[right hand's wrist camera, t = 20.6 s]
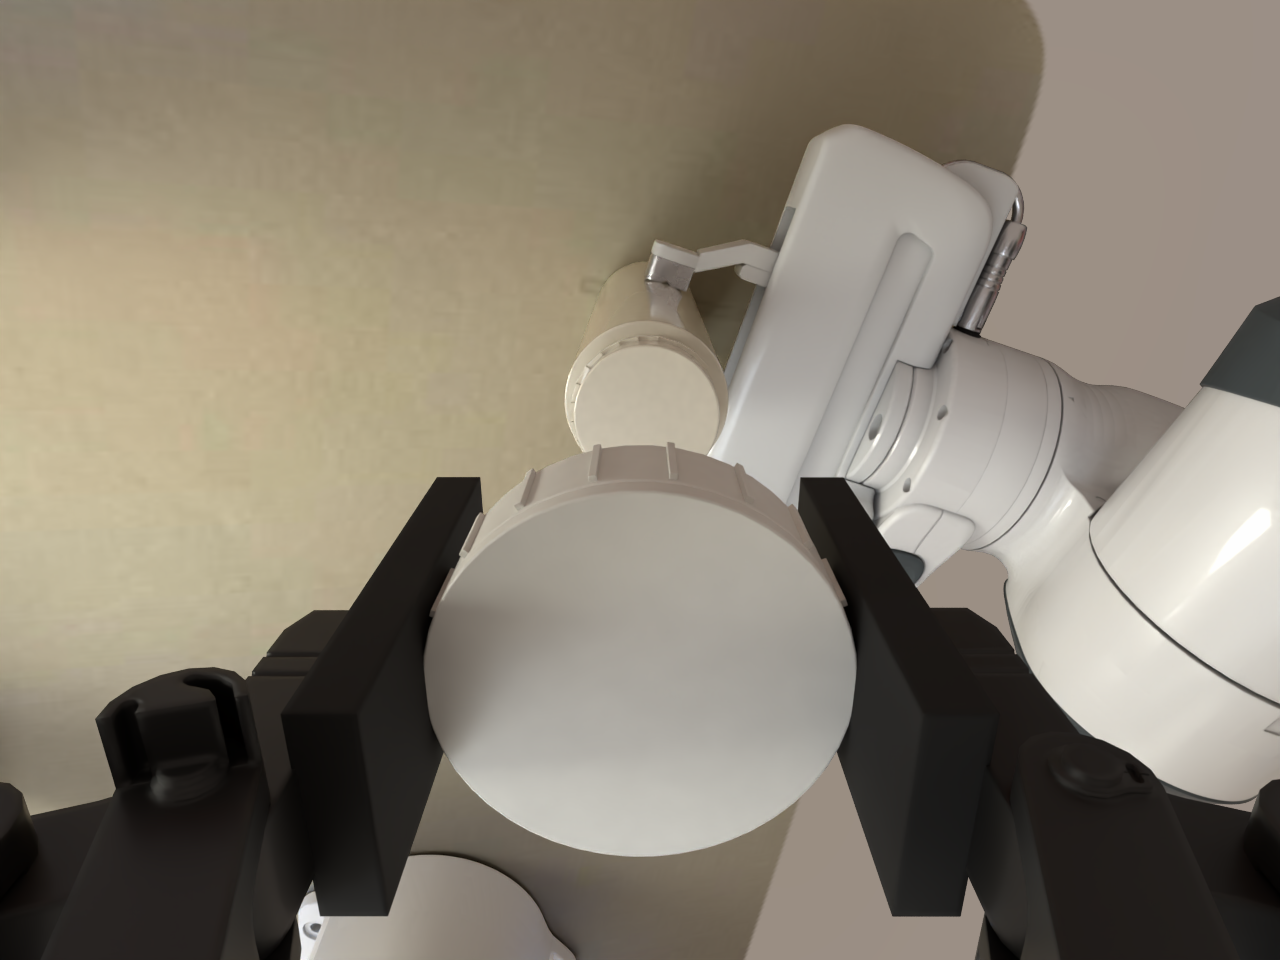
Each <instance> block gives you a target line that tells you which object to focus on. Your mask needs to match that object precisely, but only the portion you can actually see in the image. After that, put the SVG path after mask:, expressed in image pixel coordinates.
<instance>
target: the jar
mask: <svg viewBox="0 0 1280 960" xmlns="http://www.w3.org/2000/svg"><path fill="white" fill-rule="evenodd" d="M647 263H648V261H641V262H635V263H631V264H628V265H626V266H624V267H622V268H620V269H618V270H617V271H615V272H614V273H613V274H612V275H611V276H610V277H609V278H608V279H607V280H606V282H605V283H604V285H603V286H602V288H601V290H600V292H599V295H598V298H597V300H596V303H595V306H594V308H593V311H592V314H591V316H590V319H589V322H588V324H587V327H586V330H585V333H584V335H583V338H582V341H581V343H580V346H579V349H578V351H577V354H576V357H575V359H574V362H573V365H572V367H571V370H570V373H569V376H568V379H567V383H566V388H565V399H564V403H565V413H566V417H567V422H568V425H569V427H570V430H571V432H572V434H573V436H574V438H575V440H576V442H577V444H578V445H579V447H580V448H581V450H582V452H583V453H585V452H589V451H592V450H593V445H597V444H601V447H602V448H609V447H617V446H624V445H654V446H663V447H666V445H667V442H672V443H675V448H679V449H683V450H687V451H691V452H696V453H700V454H704V455H707V454H708V453H709V451H710V450H711V448H712V447H713V446H714V445H715V443H716V442H717V440H718V438H719V436H720V435H721V432H722V430H723V427H724V425H725V421H726V418H727V413H728V405H729V396H728V387H727V382H726V379H725V375H724V372H723V370H722V367H721V365H720V362H719V360H718V357H717V355H716V352H715V350H714V347H713V345H712V342H711V340H710V337H709V335H708V332H707V330H706V327H705V325H704V322H703V320H702V317H701V315H700V312H699V310H698V307H697V305H696V302H695V300H694V297H693V295H692V293H691V290H690V288H689V286H688V289H687V291H686V292H684V291H681V290H678V289H675V288H673V287H671V286H670V285H669V284H668V283H667V281H666V282H662V283H659V282H654V281H652V280H649V279H647V278H645V277H644V273H645V270H646V267H647Z"/></svg>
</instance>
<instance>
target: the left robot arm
mask: <svg viewBox="0 0 1280 960" xmlns="http://www.w3.org/2000/svg"><path fill="white" fill-rule="evenodd" d="M1011 207H1012V217H1011V220H1006V218H1007V216H1008V214H1009V212H1010V210H1011ZM1023 212H1024V201H1023V197H1022V193H1021V191H1020V189H1019V186H1018V185H1017V183H1016V182H1015V181H1014V180H1013V179H1012V178H1011V177H1010V176H1008V175H1007V174H1005V173H1004V172H1001V171H999V170H996V169H993V168H991V167H988V166H985V165H983V164H980V163H977V162H974V161H971V160H954V161H949V162H947V163H944V164H942V165H940V164H939V163H937V162H935V161H933V160H932V159H930V158H928V157H927V156H925V155H923V154H921V153H919V152H917V151H915V150H914V149H912V148H910V147H908V146H906V145H904V144H902V143H900V142H898V141H896V140H894V139H891V138H889V137H887V136H885V135H882V134H880V133H878V132H876V131H873V130H871V129H868V128H865V127H863V126H860V125H855V124H842V125H839V126H836V127H833V128H831V129H829V130H827V131H825V132H823V133H821V134H819V135H817V136H816V137H814V138H813V139H812V140H811V141H810V142H809V144H808V146H807V148H806V151H805V154H804V156H803V159H802V162H801V164H800V167H799V170H798V172H797V175H796V178H795V180H794V183H793V186H792V189H791V191H790V194H789V197H788V199H787V202H786V205H785V207H784V210H783V213H782V216H781V218H780V221H779V224H778V226H777V229H776V232H775V234H774V237H773V240H772V243H771V245H770V248H769V247H766V246H763V245H760V244H757V243H754V242H751V241H748V240H745V239H742V240H737V241H733V242H728V243H724V244H719V245H715V246H710V247H706V248H701V249H697V252H694V251H691V250H688V249H685V248H682V247H680V246H677V245H674V244H671V243H668V242H665V241H661V240H657V239H655V241H654V244H653V247H652V250H651V253H650V257H649V260H648V263H647V267H646V270H645V273H644V277H645V278H647V279H649V280H652V281H654V282H659V283H662V282H666V281H667V283H668V284H669V285H670V286H671V287H673V288H675V289H678V290H681V291H684V292H686V291H687V289H688V286H689V283H690V280H691V278H692V275H693V272H694V273H697V272H702V271H706V270H711V269H716V268H721V267H726V266H731V265H735V268H734V271H735V273H736V274H737V275H738V276H739V277H740V278H741V279H743V280H746V281H748V282H751V283H754V284H756V286H755V288H754V291H753V294H752V297H751V299H750V302H749V305H748V307H747V310H746V313H745V315H744V318H743V321H742V323H741V326H740V329H739V332H738V334H737V337H736V340H735V342H734V345H733V348H732V350H731V353H730V356H729V359H728V361H727V364H726V367H725V369H724V375H725V379H726V382H727V387H728V396H729V405H728V413H727V418H726V421H725V425H724V427H723V430H722V432H721V435H720V436H719V438H718V440H717V442H716V443H715V445H714V446H713V447H712V448H711V450H710V451H709V453H708V454H707V456H709V457H712V458H714V459H717V460H719V461H722V462H725V463H727V464H730V465H731V466H733V467H734V466H735V465H736V463H739V464H741V465H742V466H743V467H744V470H745V473H746V474H748V475H750V476H752V477H753V478H754V479H756V480H757V481H758V482H760V483H761V484H763V485H764V486H765V487H767V488H768V489H769V490H771V491H772V492H773V493H774V494H775V495H776V496H777V497H778V498H779V499H780V500H781V501H782V502H783V503H784V504H786V505H787V506H790V505H791V504H793V505H794V506H795V507H796V508H797V510H798V501H799V488H800V477H844V479H845V480H846V482H847V483H848V485H849V486H850V488H851V489H852V491H853V492H854V494H855V495H856V497H857V498H858V500H859V502H860V503H861V505H862V506H863V508H864V509H865V511H866V512H867V514H868V515H869V517H870V518H871V520H872V521H873V523H874V524H875V526H876V527H877V529H878V530H879V532H880V533H881V535H882V536H883V538H884V539H885V541H886V542H887V544H888V545H889V547H890V548H891V550H892V551H893V553H894V554H895V556H896V557H897V559H898V560H899V562H900V563H901V565H902V566H903V568H904V569H905V571H906V572H907V574H908V575H909V577H910V579H911V580H912V582H913V583H914V585H915V586H916V588H917V587H918V586H919V585H920V584H921V583H922V582H923V581H925V580H926V579H927V578H928V577H929V576H930V575H931V574H932V573H933V572H934V571H935V570H936V569H937V568H938V567H940V566H941V565H942V564H943V563H944V562H945V561H946V560H948V559H949V558H950V557H951V556H952V555H954V554H955V553H956V552H957V551H958V550H960V549H962V550H968V551H977V552H984V553H988V554H990V555H993V556H994V557H996V558H997V559H998V560H1000V561H1001V562H1002V564H1003V565H1004V566H1005V567H1006V569H1007V572H1008V579H1007V580H1006V581H1005V583H1004V598H1005V604H1006V610H1007V616H1008V620H1009V625H1010V629H1011V633H1012V637H1013V641H1014V645H1015V649H1016V653H1017V654H1018V655H1019V656H1020V658H1021V659H1022V660H1023V662H1024V663H1025V664H1026V665H1027V667H1028V668H1029V673H1030V674H1034V676H1035V677H1036V678H1037V680H1038V681H1039V682H1040V683H1041V685H1042V686H1043V687H1044V689H1045V690H1046V691H1047V692H1048V694H1049V695H1050V696H1051V697H1052V699H1053V700H1054V701H1055V703H1056V704H1057V705H1058V706H1059V708H1060V709H1061V710H1062V712H1063V713H1064V714H1065V715H1066V717H1067V718H1068V719H1069V721H1070V722H1071V723H1072V724H1073V726H1074V727H1075V728H1076V730H1077V731H1078V732H1079V733H1080V734H1082V735H1086V736H1090V737H1093V738H1097V739H1101V740H1104V741H1106V742H1108V743H1110V744H1112V745H1114V746H1116V747H1118V748H1120V749H1122V750H1125V751H1127V752H1129V753H1130V754H1132V755H1133V756H1134V757H1135V758H1137V759H1138V760H1139V761H1141V762H1142V763H1143V764H1145V765H1146V766H1147V767H1148V768H1150V769H1151V770H1152V772H1153V773H1154V774H1155V776H1156V777H1157V778H1158V780H1159V781H1160V783H1161V784H1162V785H1163V787H1164V788H1165V791H1166V793H1169V794H1172V795H1176V796H1179V797H1183V798H1187V799H1192V800H1196V801H1201V802H1205V803H1212V804H1242V803H1246V802H1249V801H1251V800H1253V799H1254V798H1256V797H1257V796H1258V793H1259V790H1260V789H1261V788H1262V787H1264V786H1265V785H1266V784H1268V783H1269V782H1270V781H1272V780H1276V779H1280V297H1277V298H1275V299H1272V300H1269V301H1267V302H1264V303H1261V304H1259V305H1256V306H1255V307H1254V308H1253V310H1252V311H1251V312H1250V314H1249V315H1248V317H1247V318H1246V319H1245V321H1244V322H1243V324H1242V325H1241V327H1240V328H1239V329H1238V331H1237V332H1236V334H1235V335H1234V336H1233V338H1232V339H1231V341H1230V342H1229V344H1228V345H1227V346H1226V348H1225V349H1224V351H1223V352H1222V354H1221V355H1220V356H1219V358H1218V359H1217V361H1216V362H1215V363H1214V365H1213V366H1212V368H1211V369H1210V370H1209V372H1208V373H1207V375H1206V376H1205V377H1204V379H1203V380H1202V382H1201V383H1200V385H1201V386H1202V387H1203V388H1202V389H1201V390H1200V391H1199V392H1198V393H1197V395H1196V396H1195V397H1194V398H1193V399H1192V401H1191V402H1190V403H1189V404H1188V405H1187V407H1186V408H1183V407H1180V406H1178V405H1175V404H1173V403H1170V402H1168V401H1165V400H1162V399H1159V398H1157V397H1154V396H1151V395H1148V394H1146V393H1143V392H1140V391H1137V390H1133V389H1130V388H1127V387H1120V386H1112V385H1111V386H1110V385H1091V384H1087V383H1084V382H1081V381H1079V380H1077V379H1075V378H1073V377H1072V376H1070V375H1069V374H1068V373H1067V372H1065V371H1064V370H1063V369H1061V368H1060V367H1058V366H1057V365H1056V364H1054V363H1052V362H1050V361H1048V360H1045V359H1043V358H1041V357H1037V356H1034V355H1031V354H1029V353H1026V352H1023V351H1020V350H1017V349H1014V348H1011V347H1008V346H1005V345H1003V344H1000V343H997V342H994V341H991V340H988V339H985V338H982V337H981V336H980V333H981V330H982V328H983V326H984V324H985V322H986V320H987V318H988V315H989V313H990V311H991V309H992V307H993V305H994V303H995V300H996V298H997V296H998V293H999V292H998V291H999V290H1000V287H1001V285H1000V284H1001V283H1002V281H1003V277H1004V276H1005V274H1006V270H1008V268H1009V266H1010V264H1011V261H1012V260H1014V259H1015V258H1016V256H1017V255H1018V253H1019V251H1020V249H1021V246H1022V244H1023V241H1024V239H1025V235H1026V231H1027V227H1026V226H1025V225H1023V224H1021V222H1022V219H1023ZM952 325H954V327H953V328H952ZM298 924H299V933H300V941H301V948H302V950H301V959H300V960H576V958H575V956H574V955H573V953H572V952H571V951H570V950H569V949H568V948H567V947H566V946H565V945H564V944H562V943H561V942H560V941H559V940H558V939H556V938H555V937H554V936H553V935H552V933H551V932H550V930H549V928H548V927H547V924H546V922H545V920H544V917H543V915H542V913H541V911H540V909H539V907H538V906H537V904H536V903H535V902H534V900H533V899H532V898H531V896H530V895H529V894H528V893H527V892H526V891H525V890H524V889H523V888H522V887H521V886H519V885H518V884H517V883H516V882H514V881H513V880H512V879H510V878H509V877H507V876H506V875H504V874H502V873H500V872H499V871H497V870H495V869H493V868H490V867H488V866H486V865H483V864H480V863H477V862H474V861H471V860H467V859H463V858H459V857H453V856H445V855H415V856H408V859H407V862H406V865H405V868H404V871H403V874H402V877H401V879H400V882H399V885H398V888H397V891H396V894H395V897H394V900H393V903H392V906H391V909H390V912H389V915H388V916H320V914H319V909H318V904H317V899H316V893H315V891H314V892H311V893H309V894H308V895H306V896H305V897H304V899H303V902H302V904H301V907H300V910H299V913H298Z"/></svg>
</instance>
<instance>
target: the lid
mask: <svg viewBox="0 0 1280 960" xmlns="http://www.w3.org/2000/svg"><path fill="white" fill-rule="evenodd" d="M459 556H461V557H460V559H459V561H458V563H457V565H456V567H455V569H453V568H451V569H450V571H449V573H448V575H447V577H446V579H445V581H444V583H443V585H442V587H441V590H440V592H439V594H438V596H437V598H436V600H435V602H434V604H433V606H432V608H431V611H430V615H429V616H430V617H433V619H432V622H431V625H430V627H429V630H428V634H427V639H426V645H425V650H424V655H423V662H424V674H425V684H426V693H427V701H428V709H429V716H430V721H431V724H432V728H433V730H434V732H435V734H436V737H437V739H438V741H439V743H440V745H441V748H442V750H443V751H444V753H445V754H446V756H447V758H448V759H449V761H450V762H451V764H452V766H453V767H454V769H455V770H456V771H457V773H458V774H459V775H460V776H461V777H462V779H463V780H464V781H465V782H466V783H467V784H468V786H469V787H470V788H471V789H472V790H473V791H474V792H475V793H476V794H477V795H478V796H480V797H481V798H482V799H483V800H484V801H485V802H486V803H487V804H488V805H489V806H491V807H492V808H494V809H495V810H496V811H498V812H499V813H501V814H502V815H503V816H505V817H506V818H507V819H509V820H511V821H512V822H514V823H516V824H518V825H519V826H521V827H523V828H525V829H527V830H528V831H530V832H532V833H535V834H537V835H539V836H542V837H544V838H546V839H549V840H551V841H553V842H557V843H560V844H563V845H566V846H570V847H573V848H576V849H580V850H585V851H590V852H595V853H600V854H608V855H619V856H662V855H672V854H681V853H685V852H690V851H695V850H700V849H704V848H708V847H711V846H714V845H717V844H720V843H723V842H727V841H730V840H732V839H734V838H736V837H739V836H741V835H743V834H745V833H748V832H750V831H752V830H754V829H756V828H758V827H759V826H761V825H763V824H764V823H766V822H768V821H770V820H771V819H773V818H775V817H776V816H777V815H779V814H780V813H781V812H783V811H784V810H785V809H787V808H788V807H789V806H791V805H792V804H793V803H795V802H796V801H797V800H798V799H799V798H800V797H801V796H802V795H803V794H804V793H805V792H806V791H807V790H808V789H809V788H810V787H811V786H812V785H813V784H814V783H815V781H816V780H817V779H818V778H819V776H820V775H821V774H822V773H823V772H824V770H825V769H826V768H827V766H828V765H829V763H830V761H831V760H832V758H833V756H834V755H835V753H836V752H837V750H838V748H839V746H840V744H841V742H842V740H843V737H844V735H845V733H846V730H847V728H848V726H849V722H850V718H851V713H852V706H853V698H854V689H855V680H856V670H857V654H856V649H855V644H854V639H853V634H852V629H851V627H850V624H849V621H848V619H847V616H846V613H845V611H844V608H843V607H845V606H848V604H847V601H846V598H845V596H844V594H843V592H842V590H841V588H840V586H839V584H838V582H837V580H836V578H835V575H834V573H833V571H832V569H831V567H830V565H829V563H828V561H827V559H826V558H824V559H821V558H820V556H819V554H818V552H817V549H816V547H815V546H814V544H813V542H812V540H811V538H810V536H809V534H808V532H807V530H806V528H805V526H804V523H803V521H802V519H801V517H800V515H799V513H798V510H797V508H796V507H795V506H794V505H793V504H791V505H790V506H787V505H786V504H784V503H783V502H782V501H781V500H780V499H779V498H778V497H777V496H776V495H775V494H774V493H773V492H772V491H771V490H769V489H768V488H767V487H765V486H764V485H763V484H761V483H760V482H758V481H757V480H756V479H754V478H753V477H752V476H750V475H748V474H746V473H745V470H744V467H743V466H742V465H741V464H739V463H736V465H735V466H734V467H733V466H731V465H730V464H727V463H725V462H722V461H719V460H717V459H714V458H712V457H709V456H707V455H704V454H700V453H696V452H691V451H687V450H683V449H679V448H675V443H672V442H667V445H666V447H663V446H654V445H624V446H617V447H609V448H602V447H601V444H597V445H593V450H592V451H589V452H585V453H581V454H577V455H573V456H571V457H568V458H566V459H563V460H561V461H558V462H556V463H553V464H551V465H548V466H547V467H545V468H543V469H541V470H540V471H538V472H535V471H534V469H531V470H529V471H527V472H526V475H525V478H524V480H523V481H522V482H520V483H519V484H518V485H516V486H515V487H514V488H512V489H511V490H510V491H508V492H507V493H506V494H505V495H504V496H503V497H502V498H501V499H500V500H499V501H498V502H497V503H496V504H495V505H494V506H493V507H492V508H491V509H490V510H489V511H488V512H487V514H486V515H484V514H483V513H481V512H480V513H479V515H478V516H477V517H476V519H475V522H474V524H473V526H472V528H471V530H470V532H469V534H468V536H467V538H466V540H465V543H464V545H463V547H462V549H461V551H460V553H459Z"/></svg>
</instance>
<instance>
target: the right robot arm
mask: <svg viewBox="0 0 1280 960" xmlns="http://www.w3.org/2000/svg"><path fill="white" fill-rule="evenodd" d="M480 512H481V513H483V507H482V494H481V481H480V477H437V478H436V480H435V481H434V483H433V484H432V486H431V487H430V489H429V490H428V492H427V493H426V495H425V496H424V498H423V499H422V501H421V502H420V504H419V505H418V507H417V508H416V510H415V511H414V513H413V514H412V516H411V517H410V519H409V520H408V522H407V523H406V525H405V526H404V528H403V529H402V531H401V533H400V534H399V536H398V537H397V539H396V540H395V542H394V543H393V545H392V546H391V548H390V549H389V551H388V552H387V554H386V555H385V557H384V558H383V560H382V561H381V563H380V564H379V566H378V567H377V569H376V570H375V572H374V573H373V575H372V576H371V578H370V579H369V581H368V582H367V584H366V585H365V587H364V588H363V590H362V591H361V593H360V594H359V596H358V597H357V599H356V600H355V602H354V603H353V605H352V607H351V608H350V610H314V611H312V612H311V613H309V614H308V615H306V616H305V617H303V618H302V619H300V620H299V621H297V622H296V623H294V624H292V625H291V626H289V627H288V628H286V629H285V630H284V631H283V632H282V634H281V635H280V636H279V637H278V639H277V640H276V641H275V643H274V644H273V645H272V646H271V648H270V649H269V650H268V652H267V657H263V658H262V659H261V661H260V662H259V663H258V665H257V666H256V667H255V668H254V670H253V671H252V676H248V677H247V679H246V680H244V679H243V678H242V677H241V676H239V675H238V674H237V673H236V672H234V671H229V670H225V669H220V668H216V667H210V668H190V669H185V670H180V671H176V672H172V673H168V674H164V675H160V676H157V677H155V678H153V679H150V680H148V681H146V682H143V683H141V684H138V685H136V686H134V687H132V688H130V689H129V690H127V691H126V692H124V693H123V694H121V695H120V696H118V697H117V698H115V699H114V700H112V701H111V702H109V704H108V705H107V706H106V707H105V708H104V709H103V711H102V712H101V713H100V714H99V715H98V716H97V718H96V719H95V720H96V723H97V727H98V730H99V733H100V737H101V740H102V743H103V747H104V750H105V753H106V757H107V760H108V763H109V767H110V770H111V773H112V777H113V780H114V784H115V787H116V790H115V792H114V794H113V797H110V798H107V799H103V800H99V801H96V802H91V803H87V804H82V805H77V806H73V807H68V808H64V809H59V810H54V811H50V812H45V813H41V814H36V815H31V816H30V814H29V811H28V808H27V805H26V802H25V799H24V797H23V794H22V793H21V792H20V791H19V790H18V789H16V788H15V787H14V786H12V785H11V784H10V783H3V782H0V960H300V959H301V950H302V948H301V941H300V933H299V928H298V923H297V918H296V915H297V912H298V910H299V908H300V906H301V904H302V902H303V899H304V897H305V895H306V893H307V891H308V889H309V886H310V884H311V882H312V880H313V883H314V888H315V893H316V899H317V904H318V909H319V914H320V916H388V915H389V912H390V909H391V906H392V903H393V900H394V897H395V894H396V891H397V888H398V885H399V882H400V879H401V877H402V874H403V871H404V868H405V865H406V862H407V859H408V856H409V853H410V850H411V847H412V844H413V841H414V838H415V835H416V832H417V829H418V826H419V823H420V820H421V817H422V814H423V811H424V808H425V805H426V803H427V800H428V797H429V794H430V791H431V788H432V785H433V782H434V779H435V776H436V773H437V770H438V767H439V764H440V761H441V758H442V755H443V752H444V751H443V750H442V748H441V745H440V743H439V741H438V739H437V737H436V734H435V732H434V730H433V728H432V724H431V721H430V716H429V709H428V701H427V693H426V684H425V674H424V662H423V655H424V650H425V645H426V639H427V634H428V630H429V627H430V625H431V622H432V619H433V617H430V616H429V615H430V611H431V608H432V606H433V604H434V602H435V600H436V598H437V596H438V594H439V592H440V590H441V587H442V585H443V583H444V581H445V579H446V577H447V575H448V573H449V571H450V569H451V568H453V569H455V567H456V565H457V563H458V561H459V559H460V557H461V556H459V553H460V551H461V549H462V547H463V545H464V543H465V540H466V538H467V536H468V534H469V532H470V530H471V528H472V526H473V524H474V522H475V519H476V517H477V516H478V515H479V513H480ZM798 513H799V515H800V517H801V519H802V521H803V523H804V526H805V528H806V530H807V532H808V534H809V536H810V538H811V540H812V542H813V544H814V546H815V547H816V549H817V552H818V554H819V556H820V558H821V559H824V558H826V559H827V561H828V563H829V565H830V567H831V569H832V571H833V573H834V575H835V578H836V580H837V582H838V584H839V586H840V588H841V590H842V592H843V594H844V596H845V598H846V601H847V604H848V606H845V607H843V608H844V611H845V613H846V616H847V619H848V621H849V624H850V627H851V629H852V634H853V639H854V644H855V649H856V654H857V670H856V680H855V689H854V698H853V706H852V713H851V718H850V722H849V726H848V728H847V730H846V733H845V735H844V737H843V740H842V742H841V744H840V746H839V748H838V750H837V753H838V757H839V760H840V763H841V766H842V768H843V771H844V774H845V777H846V780H847V783H848V786H849V789H850V792H851V795H852V798H853V801H854V804H855V807H856V810H857V813H858V816H859V819H860V822H861V825H862V828H863V831H864V833H865V837H866V839H867V842H868V845H869V848H870V851H871V854H872V857H873V860H874V863H875V866H876V869H877V872H878V875H879V878H880V881H881V884H882V887H883V890H884V893H885V896H886V898H887V902H888V905H889V908H890V910H891V913H892V916H961V911H962V906H963V901H964V896H965V891H966V886H967V881H968V877H969V879H970V881H971V883H972V886H973V888H974V890H975V892H976V894H977V896H978V899H979V901H980V903H981V905H982V907H983V909H984V911H985V914H984V918H983V923H982V928H981V933H980V937H979V942H978V947H977V952H976V956H975V960H1280V779H1276V780H1272V781H1270V782H1269V783H1268V784H1266V785H1265V786H1264V787H1262V788H1261V789H1260V790H1259V793H1258V796H1257V799H1256V801H1255V804H1254V807H1253V810H1252V813H1251V812H1247V811H1242V810H1238V809H1233V808H1228V807H1224V806H1219V805H1215V804H1210V803H1205V802H1201V801H1196V800H1192V799H1187V798H1183V797H1179V796H1176V795H1172V794H1169V793H1166V791H1165V788H1164V787H1163V785H1162V784H1161V783H1160V781H1159V780H1158V778H1157V777H1156V776H1155V774H1154V773H1153V772H1152V770H1151V769H1150V768H1148V767H1147V766H1146V765H1145V764H1143V763H1142V762H1141V761H1139V760H1138V759H1137V758H1135V757H1134V756H1133V755H1132V754H1130V753H1129V752H1127V751H1125V750H1122V749H1120V748H1118V747H1116V746H1114V745H1112V744H1110V743H1108V742H1106V741H1104V740H1101V739H1097V738H1093V737H1090V736H1086V735H1082V734H1080V733H1079V732H1078V731H1077V730H1076V728H1075V727H1074V726H1073V724H1072V723H1071V722H1070V721H1069V719H1068V718H1067V717H1066V715H1065V714H1064V713H1063V712H1062V710H1061V709H1060V708H1059V706H1058V705H1057V704H1056V703H1055V701H1054V700H1053V699H1052V697H1051V696H1050V695H1049V694H1048V692H1047V691H1046V690H1045V689H1044V687H1043V686H1042V685H1041V683H1040V682H1039V681H1038V680H1037V678H1036V677H1035V676H1034V674H1030V673H1029V668H1028V667H1027V665H1026V664H1025V663H1024V662H1023V660H1022V659H1021V658H1020V656H1019V655H1018V654H1015V653H1014V649H1013V648H1012V646H1011V645H1010V644H1009V642H1008V641H1007V640H1006V639H1005V637H1004V636H1003V635H1002V633H1001V632H1000V631H999V630H998V628H997V627H996V626H994V625H992V624H991V623H989V622H988V621H986V620H985V619H983V618H982V617H980V616H979V615H977V614H976V613H974V612H973V611H971V610H969V609H968V608H930V607H929V606H928V604H927V603H926V601H925V600H924V598H923V597H922V595H921V594H920V592H919V591H918V589H917V588H916V586H915V585H914V583H913V582H912V580H911V579H910V577H909V575H908V574H907V572H906V571H905V569H904V568H903V566H902V565H901V563H900V562H899V560H898V559H897V557H896V556H895V554H894V553H893V551H892V550H891V548H890V547H889V545H888V544H887V542H886V541H885V539H884V538H883V536H882V535H881V533H880V532H879V530H878V529H877V527H876V526H875V524H874V523H873V521H872V520H871V518H870V517H869V515H868V514H867V512H866V511H865V509H864V508H863V506H862V505H861V503H860V502H859V500H858V498H857V497H856V495H855V494H854V492H853V491H852V489H851V488H850V486H849V485H848V483H847V482H846V480H845V479H844V477H800V488H799V501H798Z"/></svg>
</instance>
